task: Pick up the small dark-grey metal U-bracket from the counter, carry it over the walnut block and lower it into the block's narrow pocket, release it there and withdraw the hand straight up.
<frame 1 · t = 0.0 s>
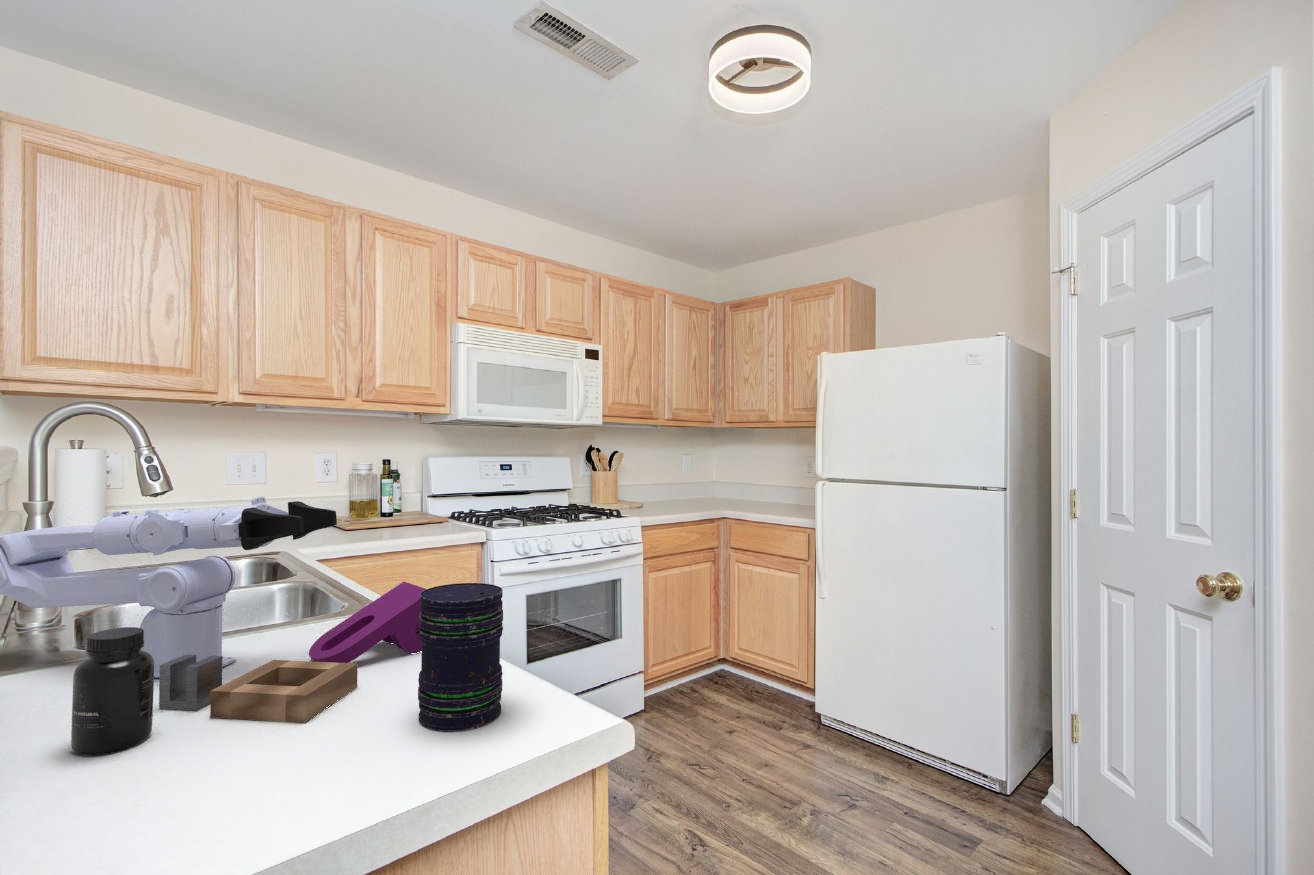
hand: (319, 521, 91), 22 cm above the counter, tool horizontal, fingers open, 7 cm apart
well block: (288, 701, 82), on the counter
bracket: (191, 704, 81), on the counter
mounting bracket: (374, 656, 101), on the counter
dark blue ribbed cylinder: (460, 716, 79), on the counter
supplement bottle: (113, 744, 71), on the counter
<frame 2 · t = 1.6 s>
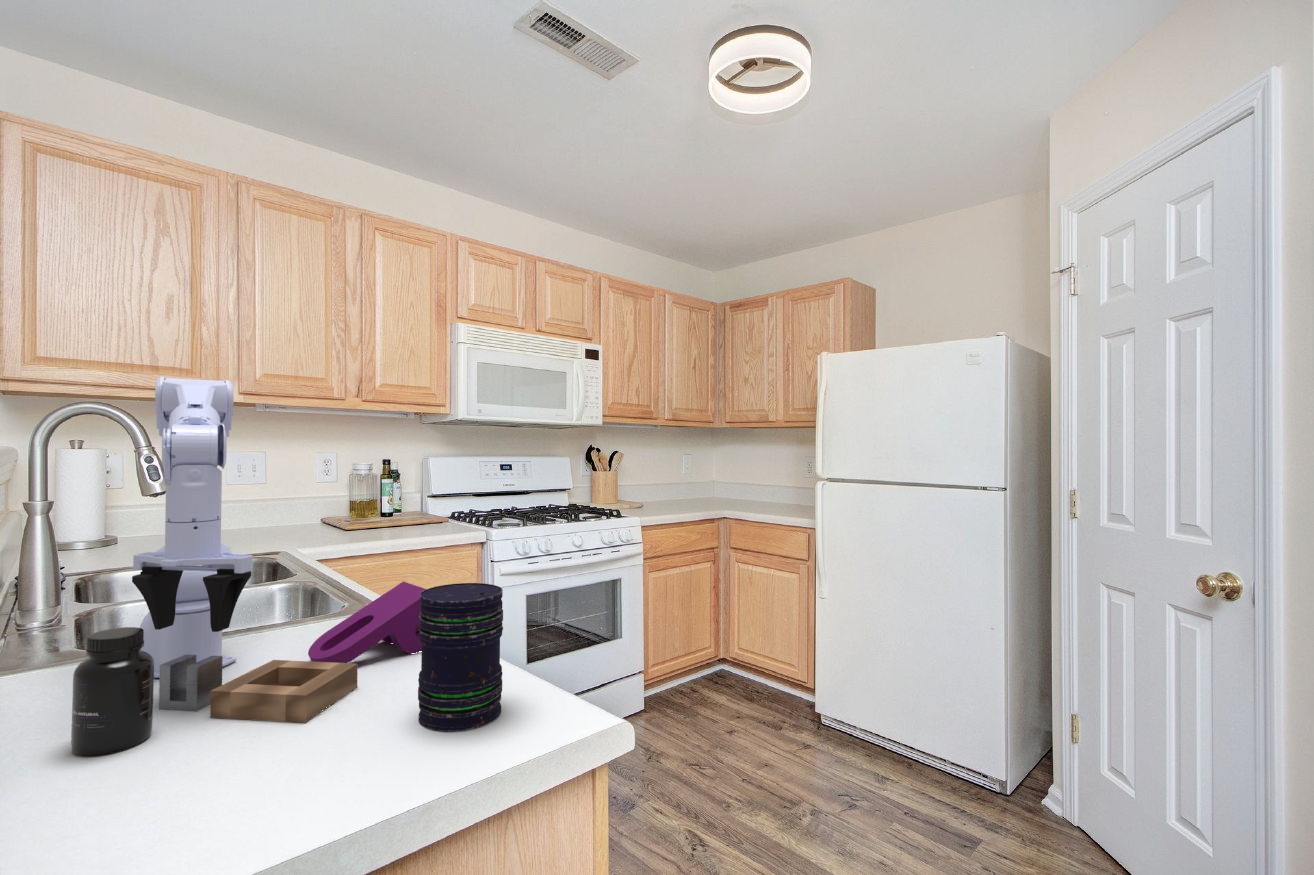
hand: (192, 628, 81), 9 cm above the counter, tool pointing down, fingers open, 7 cm apart
nothing on the counter moved.
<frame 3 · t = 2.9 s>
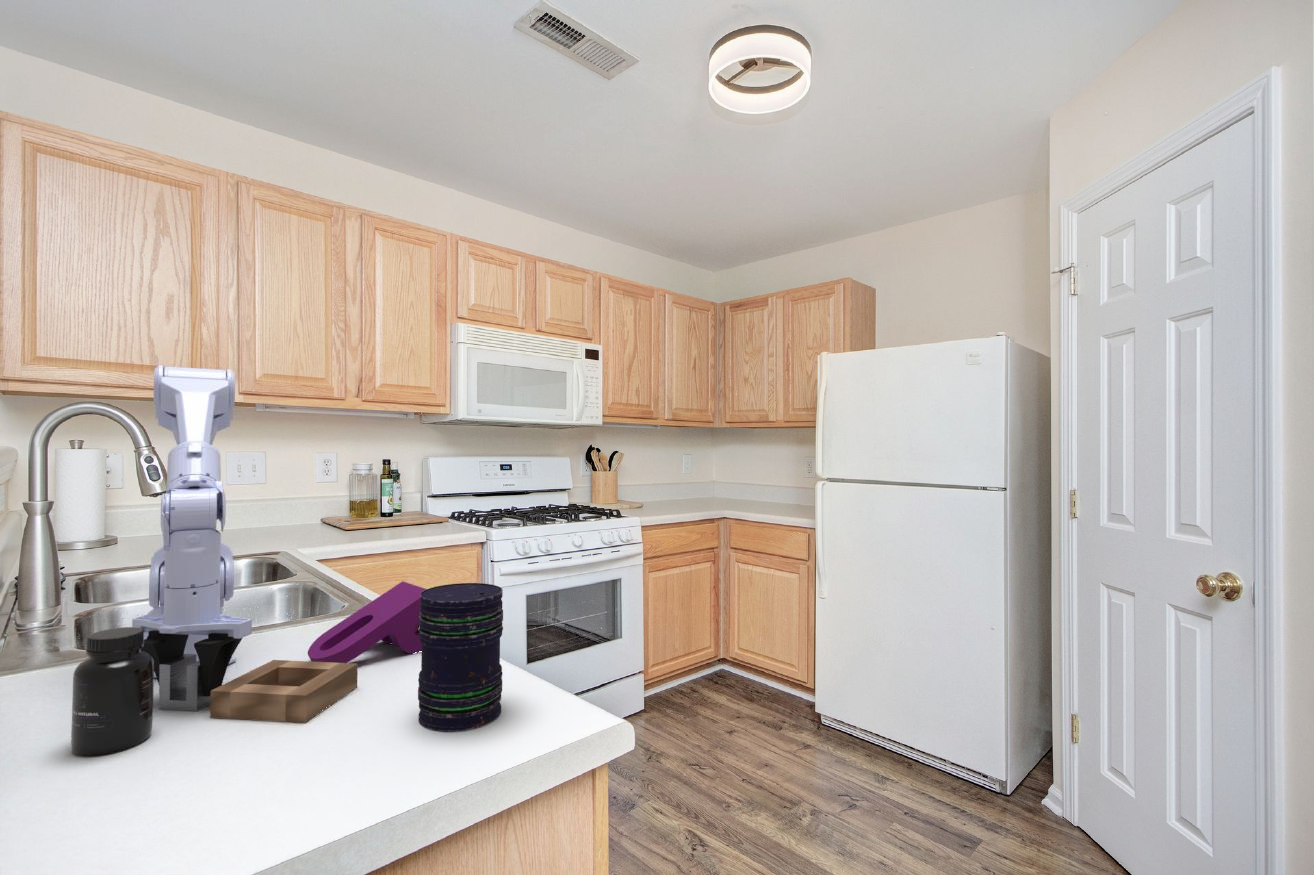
hand: (191, 692, 81), 1 cm above the counter, tool pointing down, fingers closed on bracket, 5 cm apart
bracket: (191, 703, 81), on the counter, touching gripper
everything else where it was.
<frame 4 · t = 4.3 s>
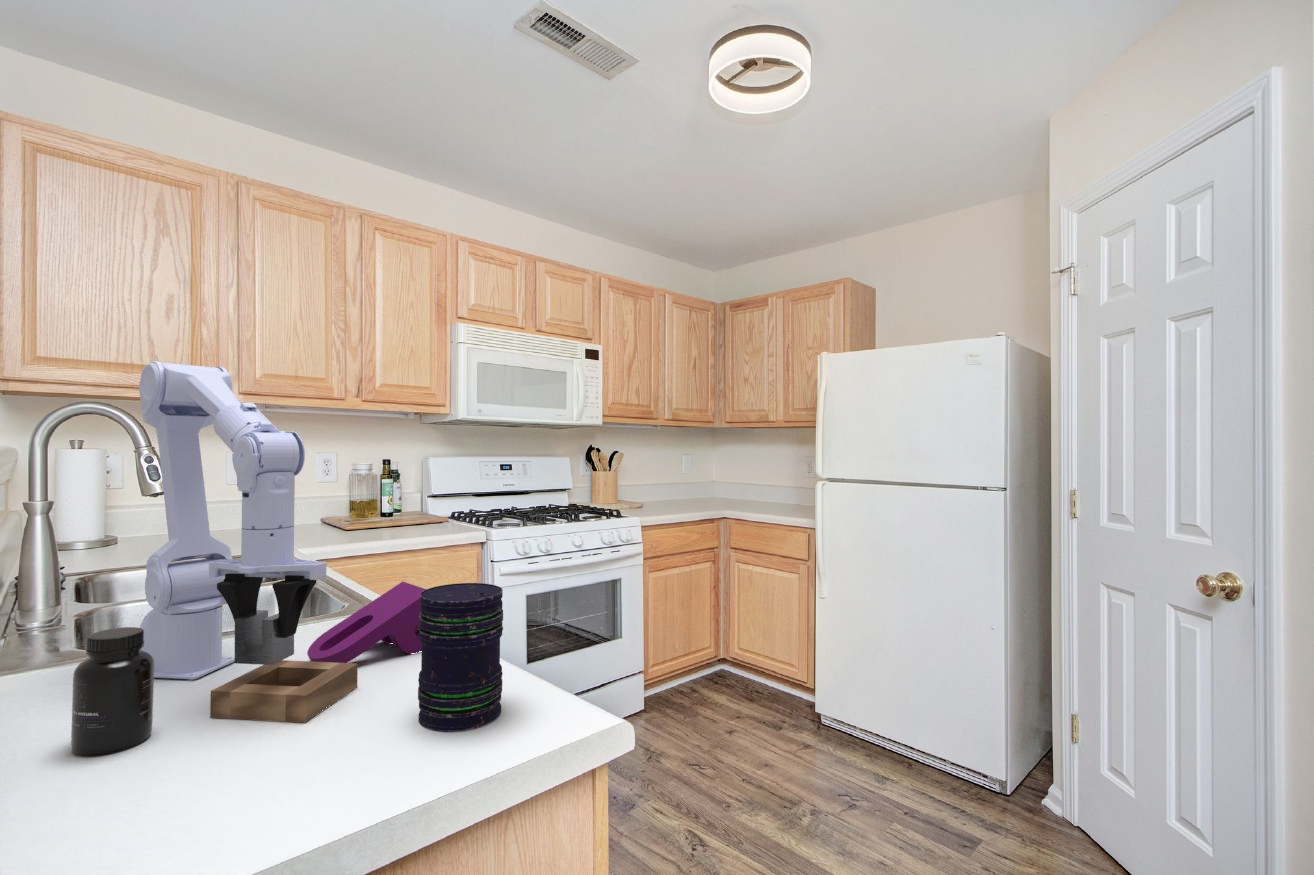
hand: (267, 634, 82), 9 cm above the counter, tool pointing down, fingers closed on bracket, 5 cm apart
bracket: (264, 658, 82), point 6 cm above the counter, touching gripper
everything else where it was.
when the fingers open (4 cm above the counter, at t = 5.8 s): bracket drops 1 cm, resting in well block.
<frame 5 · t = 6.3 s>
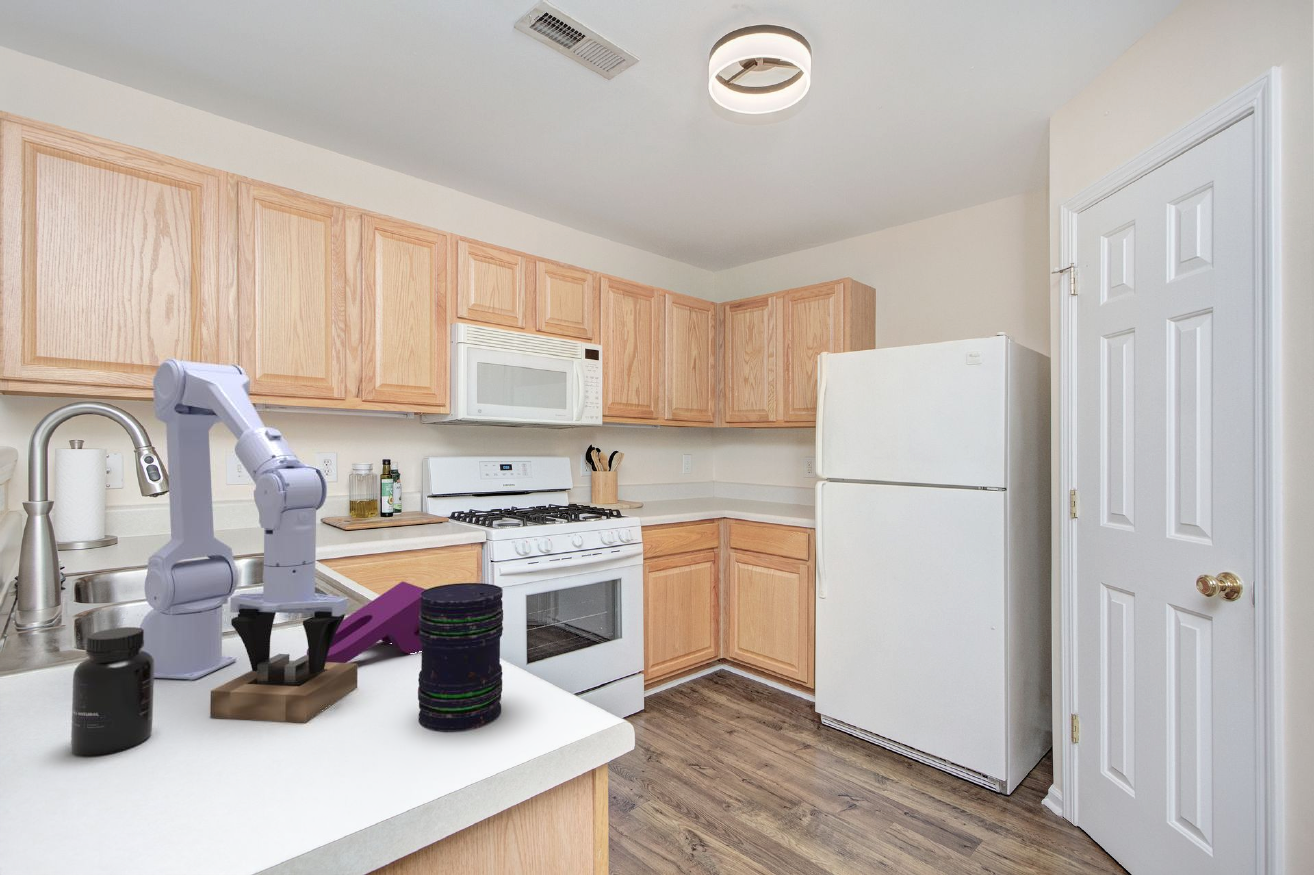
hand: (288, 670, 82), 4 cm above the counter, tool pointing down, fingers open, 7 cm apart
bracket: (286, 703, 82), resting in well block
everything else where it was.
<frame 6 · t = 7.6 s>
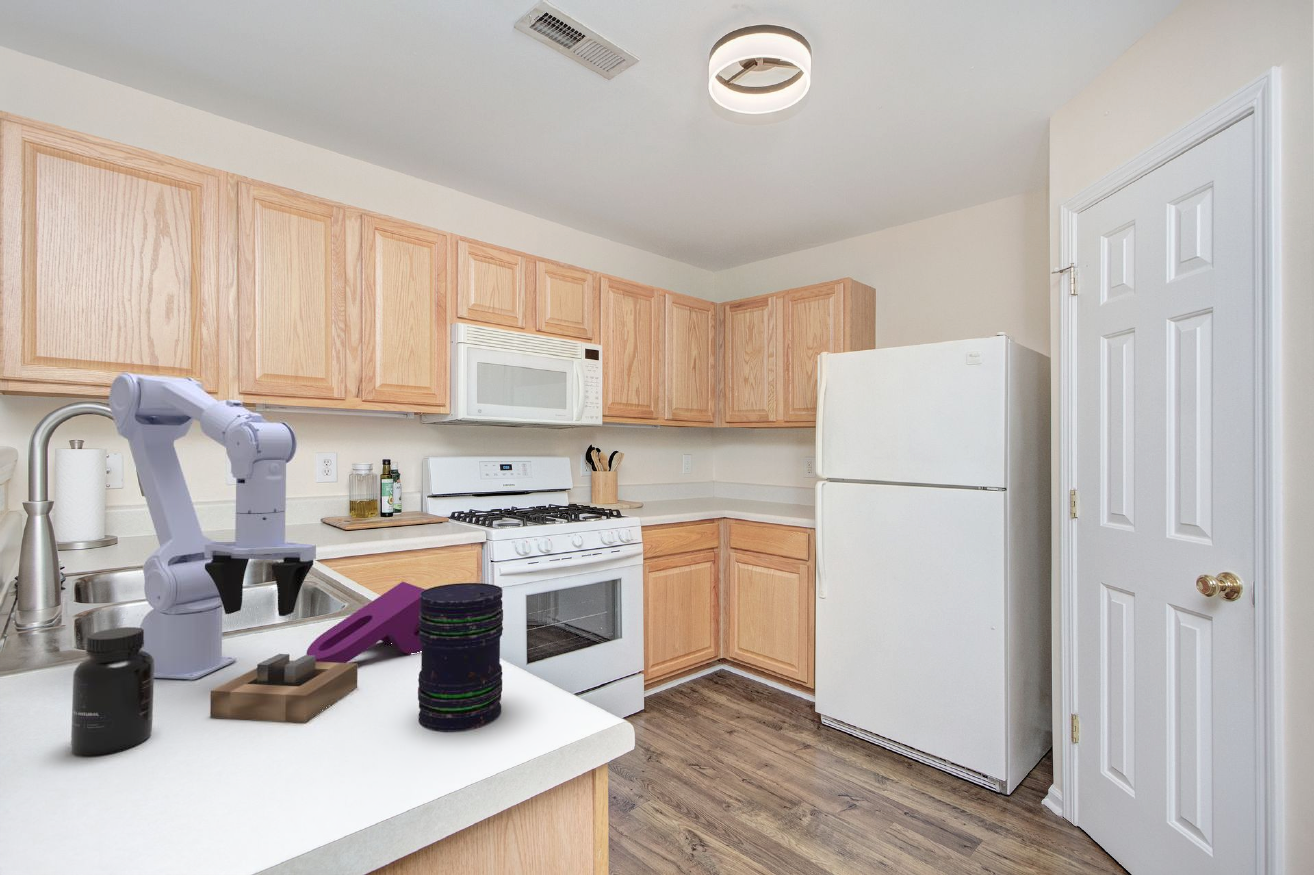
hand: (259, 613, 87), 10 cm above the counter, tool pointing down, fingers open, 7 cm apart
nothing on the counter moved.
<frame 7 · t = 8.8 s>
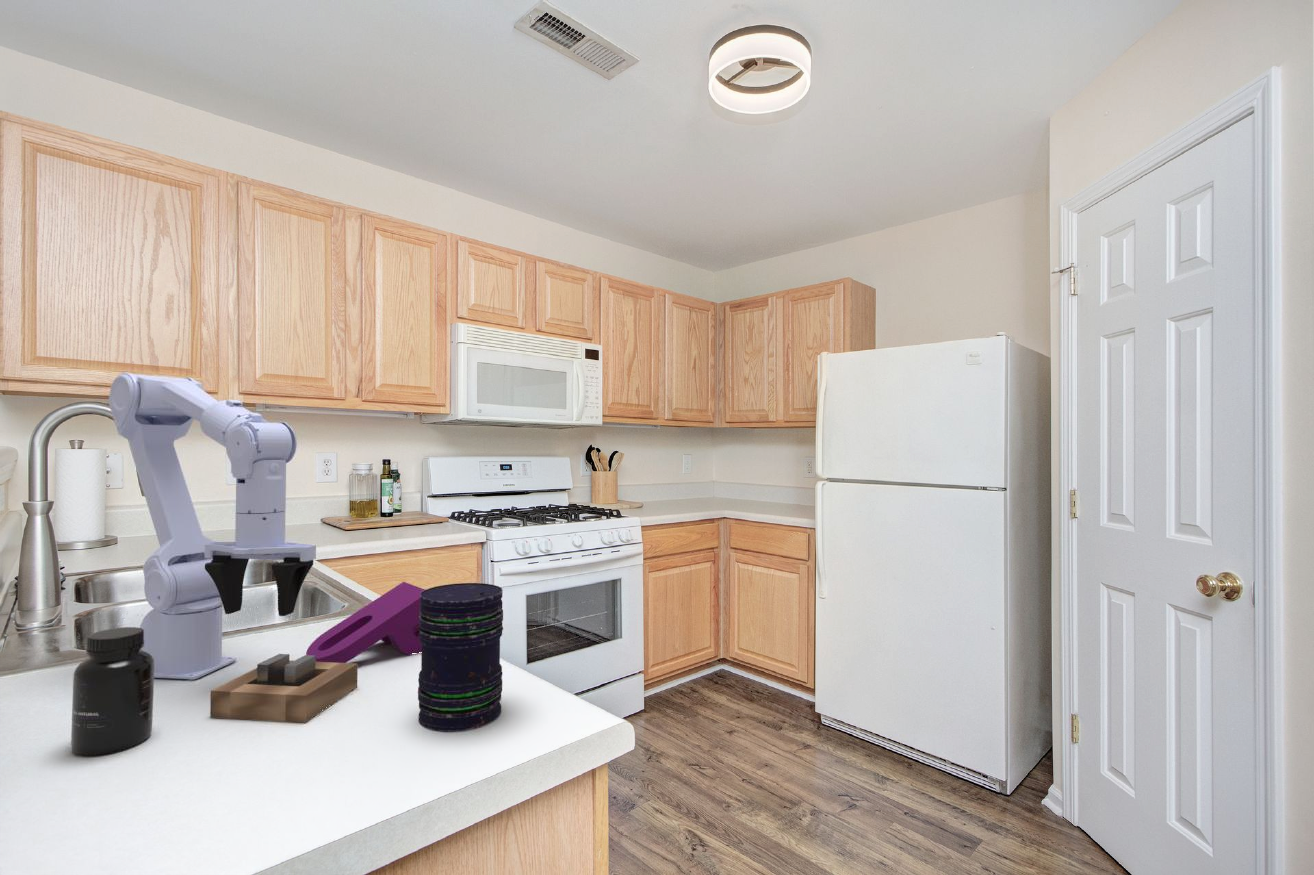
hand: (259, 613, 87), 10 cm above the counter, tool pointing down, fingers open, 7 cm apart
nothing on the counter moved.
at the end: bracket 0.3 cm off-centre on the well block, point 0.0 cm above the well block's base; bracket tilted 0°; the gripper is holding nothing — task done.
